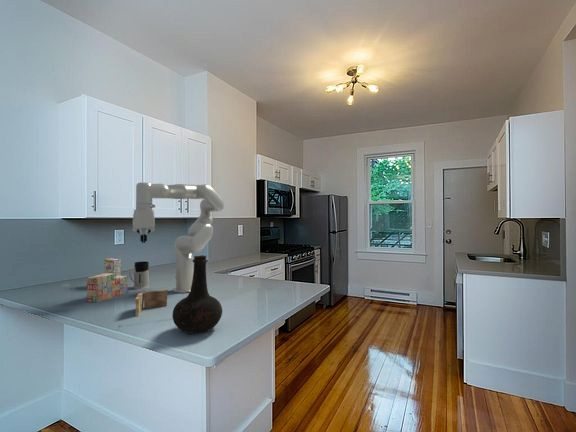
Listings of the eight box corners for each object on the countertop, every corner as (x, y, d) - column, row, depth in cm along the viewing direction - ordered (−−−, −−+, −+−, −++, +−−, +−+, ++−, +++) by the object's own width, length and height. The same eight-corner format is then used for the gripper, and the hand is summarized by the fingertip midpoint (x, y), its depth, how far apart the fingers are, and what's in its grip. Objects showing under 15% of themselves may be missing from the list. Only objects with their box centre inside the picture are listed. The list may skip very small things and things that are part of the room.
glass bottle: (161, 334, 111) (163, 256, 111) (193, 319, 128) (194, 252, 128) (202, 341, 105) (204, 259, 105) (230, 325, 122) (231, 254, 122)
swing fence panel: (138, 309, 138) (139, 292, 138) (142, 308, 139) (142, 292, 139) (134, 316, 128) (135, 298, 128) (139, 316, 129) (139, 298, 129)
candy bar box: (103, 285, 187) (103, 258, 187) (111, 284, 191) (112, 258, 191) (113, 288, 181) (113, 260, 181) (121, 286, 185) (121, 259, 185)
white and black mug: (152, 286, 187) (152, 261, 187) (136, 291, 173) (136, 265, 173) (140, 285, 189) (140, 261, 189) (122, 290, 175) (123, 264, 175)
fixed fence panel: (166, 305, 145) (167, 289, 145) (167, 306, 143) (167, 290, 144) (138, 308, 140) (139, 292, 140) (138, 310, 138) (139, 292, 138)
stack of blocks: (118, 291, 173) (118, 270, 173) (127, 292, 172) (128, 270, 172) (86, 302, 152) (86, 277, 152) (97, 302, 151) (97, 277, 151)
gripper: (159, 207, 164) (158, 241, 164) (127, 206, 157) (127, 242, 157) (160, 207, 157) (159, 243, 157) (127, 206, 151) (126, 243, 150)
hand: (143, 242), depth 157 cm, fingers closed
